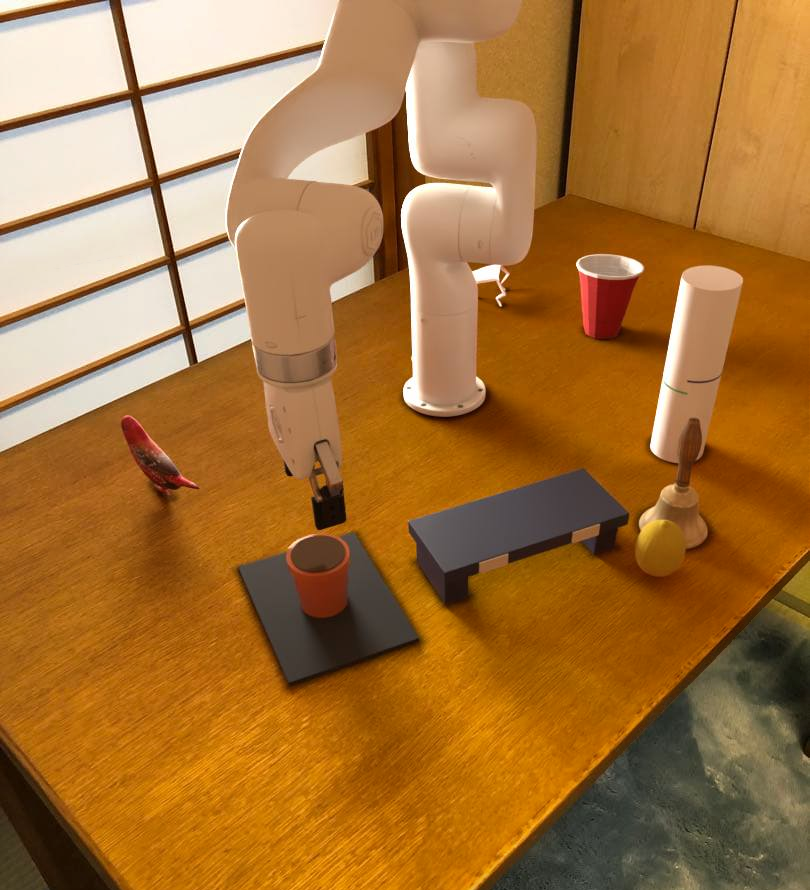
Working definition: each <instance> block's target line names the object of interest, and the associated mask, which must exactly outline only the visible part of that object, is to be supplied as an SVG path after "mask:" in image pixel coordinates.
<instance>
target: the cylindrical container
mask: <svg viewBox="0 0 810 890" xmlns="http://www.w3.org/2000/svg"><path fill="white" fill-rule="evenodd" d="M743 284H744V278H743V276H742V275H741V274H739V273H738V272H737V271H735V270H733V269H730V268H728V267H724V266H718V265H696V266H692V267H689V268H686V269H685V270H683V272H682V273H681V278H680V283H679V289H678V294H677V299H676V303H675V310H674V315H673V321H672V326H671V332H670V337H669V343H668V348H667V353H666V358H665V364H664V369H663V376H662V381H661V385H660V391H659V395H658V396H659V397H658V401H657V408H656V413H655V418H654V424H653V428H652V433H651V440H650V446H649V447H650V450H651V452H652V453H653V454H654V456H656V457H658V458H659V459H660V460H663V461H666V462H670V463H674V464H679V461H678V454H677V448H678V441H679V437H680V434H681V432H682V430H683V429H684V427H685V426H686V424H687V422H688V419H690V418H698V419H699V420H700V428H701V433H702V444H701V449H700V452H699V455H698V457H697V459H696V460H695V462H696V461H697V460H700V459H701V457H702V456H703V454H704V451H705V447H706V442H707V438H708V433H709V429H710V424H711V421H712V415H713V411H714V409H715V408H714V407H715V404H716V399H717V394H718V390H719V387H720V382H721V377H722V373H723V369H724V365H725V361H726V356H727V352H728V348H729V343H730V339H731V335H732V330H733V327H734V322H735V317H736V314H737V309H738V305H739V301H740V296H741V292H742V288H743Z"/></svg>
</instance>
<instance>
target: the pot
mask: <svg viewBox="0 0 810 890" xmlns="http://www.w3.org/2000/svg"><path fill="white" fill-rule="evenodd" d="M286 552H287V554H286V561H287V567H288V570H289V572H290V573H291V575H292V576H293V582H294V587H295V590H296V592H297V593H298V596H299V603H300V607H301V609H302V610H303V611H304V612H305V613H306V614H308V615H309V616H312V617H316V618H327V617H331V616H334V615H336V614H338V613H340V612H341V611H342V610H343V609H344V608H345V607H346V605H347V603H348V591H347V586H348V583H349V574H348V568H349V565H350V561H351V558H350V549H349V547H348V545H347V543H346V542H345V541H344V540H342V539H341V538H339V536H337V535H334V534H330V533H313V534H309V535H306V536H305V535H304V536H302V537H301V538H298V539H297V540H296V541H294V542H293V543H292V544H291V545H290V546H289V547H288V549H287V551H286Z"/></svg>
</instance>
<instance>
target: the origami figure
mask: <svg viewBox="0 0 810 890" xmlns="http://www.w3.org/2000/svg"><path fill="white" fill-rule="evenodd" d="M472 272H473V274H474V276H475V279H476V282H477V285H478V284H485V283H491V282H496V284H497V286H498V288H499V290H500V292H501V294H499V295H498V296H496V297H495V300H496V302H497V304H498V306H499V307H502V306H503V304H502V302H501V300H500V299H502V298H504V297H506V296H507V292H506V291H507V289H506V288H505V287H504V286H503V283H504V282H505V281H506V279H508V277H509V276H510V275H511V273H510V271H508V270H507V269H506V268H505V266H504V265H492V264H490V265H487V266H484V267H481V268H478V269H475V270H472ZM501 272H503V273H505V276H504V277H503V278H502V280H501V282H500V278H499V277H500V273H501Z"/></svg>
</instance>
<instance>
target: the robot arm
mask: <svg viewBox="0 0 810 890" xmlns="http://www.w3.org/2000/svg"><path fill="white" fill-rule="evenodd" d="M522 4H523V0H337V2H336V4H335V8H334V12H333V15H332V18H331V21H330V25H329V28H328V31H327V34H326V37H325V41H324V44H323V47H322V50H321V54H320V57H319V61H318V64H317V66H316V68H315V70H314V71H313V72H312V73H311V74H309V75H308V76H306V77H305V78H304V79H303V80H302V81H300V82H298V83H297V84H295V86H293V87H292V88H291V89H290V90H288V91H287V92H286V93H285V94H284V95H283V96H281V98H280V99H278V101H276V102H275V103H274V104H273V105H271V107H270V108H269V109H268V110H267V111H265V113H263V115H261V117H260V118H259V119H258V120H257V122H256V123H255V125H253V127H252V129H251V130H250V132H249V133H248V134H247V137H246V139H245V140H244V144H243V146H242V149H241V152H240V154H239V158H238V161H237V164H236V167H235V170H234V173H233V176H232V180H231V182H230V187H229V191H228V196H227V200H226V207H225V229H226V233H227V237H228V240H229V242H230V243H231V246H232V247H233V249H234V250H235V253H236V259H237V264H238V271H239V276H240V282H241V287H242V293H243V299H244V304H245V310H246V317H247V323H248V328H249V334H250V340H251V345H252V351H253V356H254V363H255V368H256V373H257V376H258V378H259V379H260V380H261V381H262V382H263V391H264V400H265V408H266V417H267V424H268V430H269V431H268V432H269V434H270V437H271V439H272V441H273V444H274V445H275V447H276V449H277V451H278V452H279V454H280V456H281V458H282V460H283V461H282V462H283V468H284V472H285V475H286V476H287V477H289V478H290V477H294V478H296V479H297V480H299V481H303V480H305V479H308V480H309V484H310V487H311V490H312V494H313V496H311V497H310V500H311V506H312V514H313V521H314V526H315V529H316V530H318V531H322V530H325V529H329V528H332V527H335V526H339V525H342V524H345V523H346V522H347V512H346V511H347V510H346V501H345V488H344V479H343V476H342V474H341V472H340V468H341V467H342V464H343V447H342V439H341V430H340V425H339V417H338V410H337V405H336V396H335V394H334V388H333V383H332V378H331V376H332V375H333V374H334V373H335V372H336V371H337V368H338V366H339V365H338V364H339V363H338V353H337V343H336V334H335V323H334V313H333V304H332V303H333V302H332V295H331V287H332V286H333V284H336V283H338V282H339V281H342V280H343V279H345V278H347V277H349V276H351V275H352V274H354V273H356V272H358V271H359V270H361V269H362V268H364V266H366V265H367V264H368V263H369V262H370V261H371V260H372V258H373V257H374V256H375V254H376V252H377V251H378V249H379V248H380V246H381V243H382V239H383V235H384V214H383V210H382V207H381V205H380V203H379V201H378V200H377V198H376V197H375V196H374V194H372V193H371V192H369V191H368V190H367V189H364V188H362V187H359V186H357V185H351V184H344V183H334V182H323V181H316V180H307V179H297V178H295V179H294V178H289V176H290V175H291V174H292V173H293V172H294V171H295V169H296V168H297V167H299V166H300V164H302V163H303V162H304V161H305V160H307V159H308V158H310V157H311V156H313V155H314V154H316V153H319V152H321V151H323V150H324V149H327V148H329V147H331V146H332V147H333V146H335V145H337V144H340V143H343V142H346V141H349V140H351V139H355V138H356V137H359V136H362V135H364V134H367V133H369V132H371V131H374V130H377V129H378V128H381V127H382V126H384V125H386V124H388V123H389V122H390V121H392V120H393V119H394V118H395V117H396V116H397V114H398V113H399V111H400V109H401V107H402V104H403V101H404V98H405V97H404V96H406V114H407V115H406V116H407V131H408V148H409V154H410V159H411V163H412V165H413V167H414V169H415V170H416V171H417V172H418V173H420V174H421V175H423V176H426V177H429V178H430V177H431V178H435V179H441V180H451V181H462V182H472V183H473V182H476V183H484V184H485V183H486V184H490V185H491V187H489V186H479V185H472V184H471V185H470V184H461V183H460V184H459V183H447V182H432V183H425V184H421V185H419V186H416V187H415V188H413V189H412V190H411V191H409V193H408V194H407V195H406V197H405V199H404V201H403V204H402V208H401V214H400V217H401V221H400V222H401V230H402V237H403V240H404V245H405V250H406V254H407V255H406V256H407V262H408V269H409V282H410V283H409V284H410V315H411V316H410V317H411V349H412V350H411V351H412V355H411V361H412V377H410V378H409V379H408V380H407V381H406V382H405V384H404V386H403V391H402V392H403V399H404V402H405V404H406V405H407V406H408V407H409V408H411V409H413V410H414V411H416V412H418V413H420V414H423V415H426V416H431V417H432V416H433V417H441V418H443V417H445V418H446V417H457V416H461V415H465V414H468V413H470V412H472V411H475V410H476V409H477V408H479V407H480V406H481V405H482V404H483V403H484V402H485V399H486V393H487V389H486V385H485V383H484V381H482V379H480V378H479V377H478V376H477V350H478V349H477V348H478V346H477V345H478V313H479V312H478V308H479V288H478V284H477V282H476V279H475V276H474V274H473V272H472V271H473V270H472V268H471V266H470V265H469V263H473V264H474V263H475V264H483V265H503V266H514V265H517V264H519V263H521V262H522V261H523V260H524V259H525V258H526V257H527V255H528V253H529V251H530V248H531V244H532V239H533V233H534V232H533V231H534V220H535V200H536V199H535V197H536V180H537V179H536V177H537V155H538V154H537V153H538V132H537V125H536V120H535V116H534V113H533V112H532V109H531V108H530V107H529V106H528V105H527V104H525V103H524V102H522V101H520V100H516V99H511V98H498V97H483V96H481V95H480V94H479V92H478V88H477V52H476V48H475V47H476V46H475V45H474V44H475V43H482V42H486V41H490V40H493V39H495V38H498V37H501V36H503V35H504V34H506V33H507V32H508V31H509V30H510V29H511V28H512V27H513V25H514V24H515V22H516V21H517V18H518V16H519V14H520V10H521V8H522ZM405 93H406V95H405ZM316 462H318V463H319V466H320V467H318V468H315V467H316V465H315V463H316ZM319 475H324V478H325V483H324V484H325V485H323V486H320V484H319V482H318V481H319V480H318V478H317V476H319Z"/></svg>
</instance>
